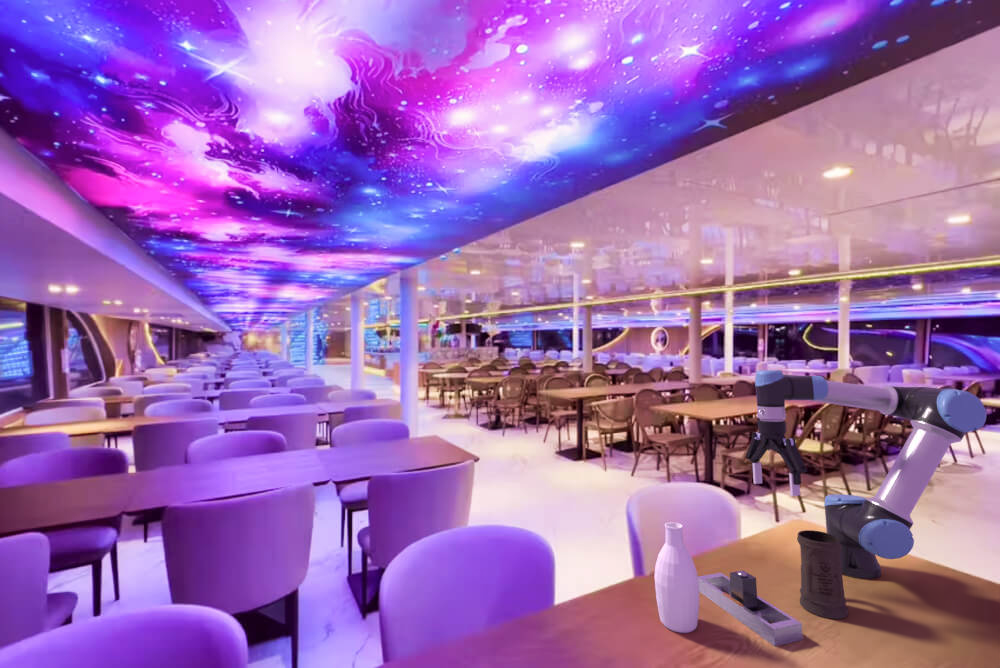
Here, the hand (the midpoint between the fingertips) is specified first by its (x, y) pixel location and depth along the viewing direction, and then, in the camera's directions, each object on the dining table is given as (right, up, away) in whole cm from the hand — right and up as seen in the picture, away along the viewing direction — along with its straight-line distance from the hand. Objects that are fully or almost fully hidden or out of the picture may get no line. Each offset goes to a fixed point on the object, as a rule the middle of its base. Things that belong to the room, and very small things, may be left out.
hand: (775, 489), depth 138 cm
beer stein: (+4, -28, -13) cm, 31 cm away
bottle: (-38, -29, -20) cm, 52 cm away
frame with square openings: (-18, -28, -16) cm, 37 cm away
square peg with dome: (-18, -28, -16) cm, 37 cm away
